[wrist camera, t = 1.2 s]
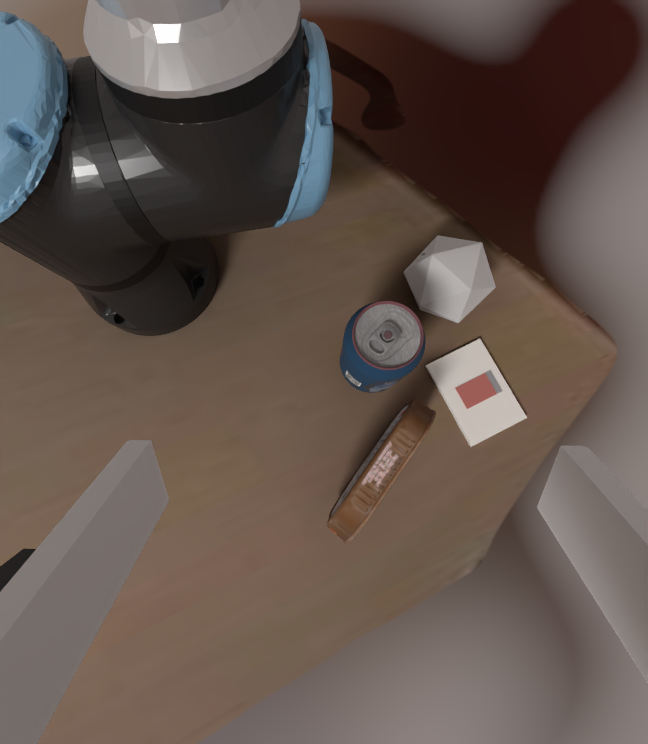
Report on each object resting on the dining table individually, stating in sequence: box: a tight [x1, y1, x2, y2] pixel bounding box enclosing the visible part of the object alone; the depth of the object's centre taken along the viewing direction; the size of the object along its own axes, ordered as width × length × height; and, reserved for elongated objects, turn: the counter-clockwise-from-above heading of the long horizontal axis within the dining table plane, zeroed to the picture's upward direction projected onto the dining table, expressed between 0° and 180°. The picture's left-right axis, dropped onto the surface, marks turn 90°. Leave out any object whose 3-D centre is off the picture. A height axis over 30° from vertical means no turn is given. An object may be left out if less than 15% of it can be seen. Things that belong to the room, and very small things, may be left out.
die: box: [403, 236, 496, 323], centre depth 37 cm, size 8×9×10 cm
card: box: [426, 339, 527, 447], centre depth 39 cm, size 10×7×1 cm
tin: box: [327, 400, 436, 543], centre depth 34 cm, size 15×3×8 cm, turn 143°
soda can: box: [340, 301, 425, 393], centre depth 34 cm, size 7×7×12 cm
